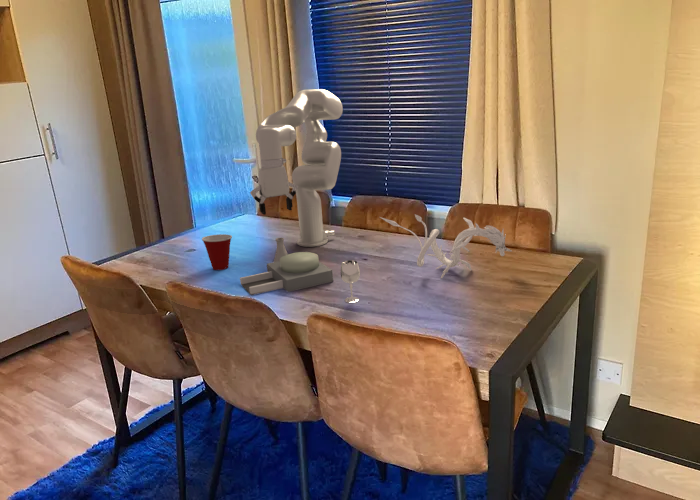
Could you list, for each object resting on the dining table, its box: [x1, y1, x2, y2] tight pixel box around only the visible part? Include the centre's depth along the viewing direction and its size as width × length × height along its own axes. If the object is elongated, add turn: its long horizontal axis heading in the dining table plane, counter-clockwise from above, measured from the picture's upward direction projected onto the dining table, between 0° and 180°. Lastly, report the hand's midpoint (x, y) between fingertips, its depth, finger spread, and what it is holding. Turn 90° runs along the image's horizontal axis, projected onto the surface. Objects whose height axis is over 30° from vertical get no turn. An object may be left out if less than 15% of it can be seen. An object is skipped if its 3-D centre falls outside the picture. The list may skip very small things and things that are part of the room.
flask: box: [273, 237, 289, 262], centre depth 210 cm, size 7×7×10 cm
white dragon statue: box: [379, 213, 513, 279], centre depth 188 cm, size 43×20×25 cm, turn 65°
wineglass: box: [340, 259, 361, 304], centre depth 174 cm, size 6×6×12 cm
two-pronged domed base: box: [239, 251, 334, 296], centre depth 194 cm, size 27×20×7 cm
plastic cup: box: [201, 233, 233, 271], centre depth 211 cm, size 11×11×12 cm
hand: (276, 211), depth 206 cm, fingers open, 9 cm apart
